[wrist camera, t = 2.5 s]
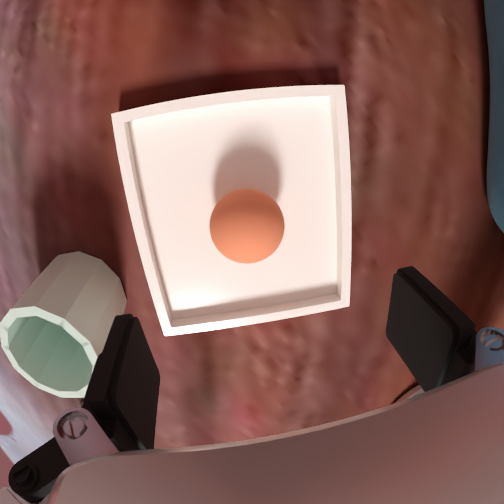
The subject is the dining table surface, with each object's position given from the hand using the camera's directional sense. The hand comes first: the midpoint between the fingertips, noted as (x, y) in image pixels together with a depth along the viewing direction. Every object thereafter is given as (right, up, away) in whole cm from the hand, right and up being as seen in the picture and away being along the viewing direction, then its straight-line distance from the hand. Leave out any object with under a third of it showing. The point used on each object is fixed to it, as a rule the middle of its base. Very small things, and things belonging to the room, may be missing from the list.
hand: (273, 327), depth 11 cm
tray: (-1, +6, +13) cm, 15 cm away
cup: (-16, -1, +15) cm, 22 cm away
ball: (-1, +5, +13) cm, 14 cm away
